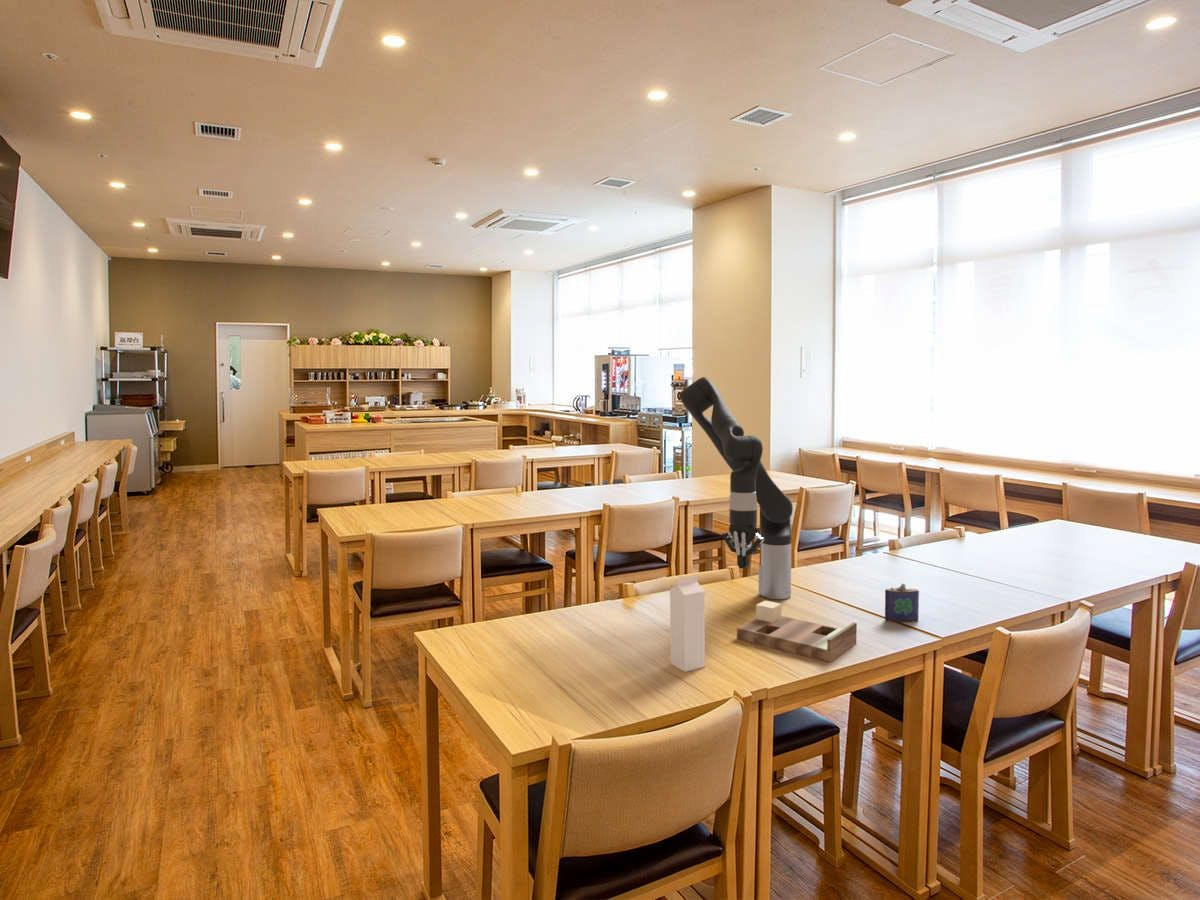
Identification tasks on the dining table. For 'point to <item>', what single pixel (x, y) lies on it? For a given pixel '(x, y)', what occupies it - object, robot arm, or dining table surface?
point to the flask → (901, 604)
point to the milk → (687, 624)
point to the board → (800, 637)
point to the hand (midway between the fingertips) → (743, 567)
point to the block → (768, 611)
